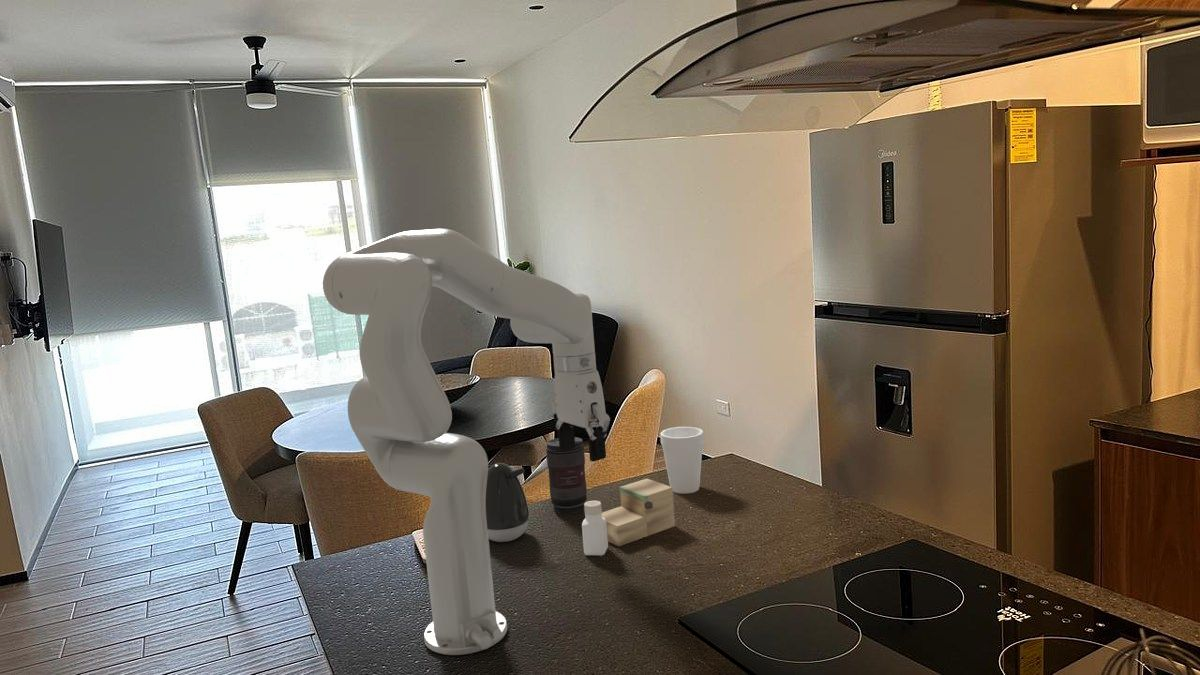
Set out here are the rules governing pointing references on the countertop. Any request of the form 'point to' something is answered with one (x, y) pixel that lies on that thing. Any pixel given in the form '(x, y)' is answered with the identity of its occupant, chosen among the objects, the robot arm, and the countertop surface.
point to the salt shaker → (594, 529)
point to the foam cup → (683, 457)
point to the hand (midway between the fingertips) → (582, 454)
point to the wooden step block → (640, 512)
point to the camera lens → (567, 476)
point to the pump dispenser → (505, 504)
